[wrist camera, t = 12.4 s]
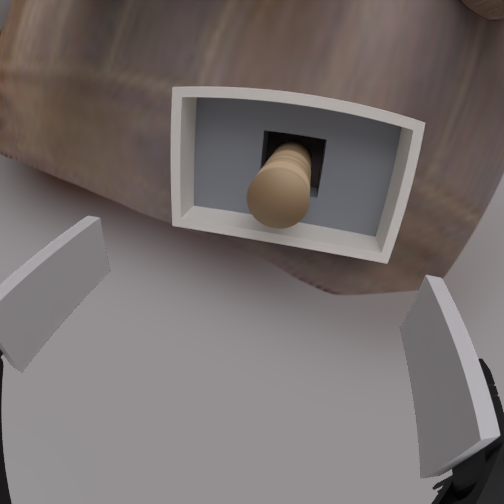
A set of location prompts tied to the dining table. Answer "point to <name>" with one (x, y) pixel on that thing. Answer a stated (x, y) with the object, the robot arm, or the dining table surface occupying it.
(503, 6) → the planter
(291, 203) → the dowel
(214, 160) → the box
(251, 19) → the dining table surface
